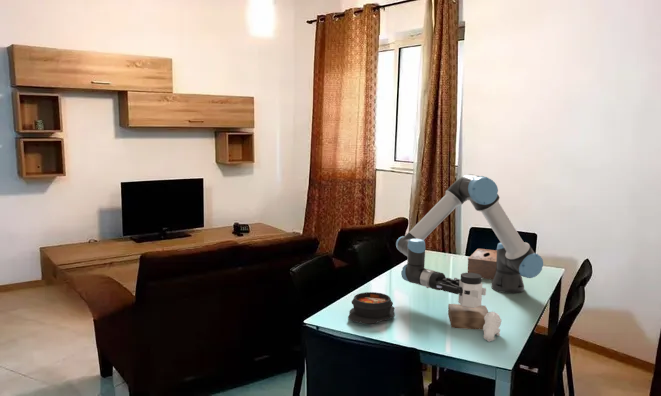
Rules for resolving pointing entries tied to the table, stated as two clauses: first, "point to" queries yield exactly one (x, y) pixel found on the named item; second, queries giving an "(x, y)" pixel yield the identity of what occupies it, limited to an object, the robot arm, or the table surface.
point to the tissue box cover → (483, 263)
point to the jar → (470, 289)
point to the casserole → (371, 308)
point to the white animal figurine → (491, 326)
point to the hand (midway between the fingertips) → (481, 293)
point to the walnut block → (466, 316)
